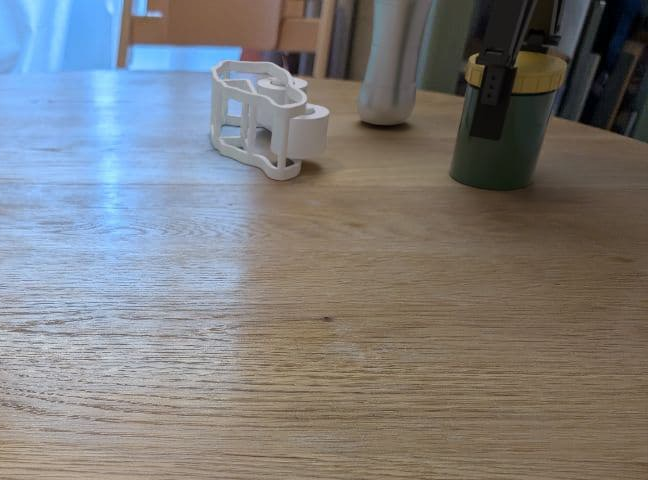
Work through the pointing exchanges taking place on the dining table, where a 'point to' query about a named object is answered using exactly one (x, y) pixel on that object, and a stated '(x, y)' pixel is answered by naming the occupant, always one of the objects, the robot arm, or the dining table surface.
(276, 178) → the car outline toy
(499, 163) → the green jar
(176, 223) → the dining table surface
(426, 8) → the plastic bottle
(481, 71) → the lid
